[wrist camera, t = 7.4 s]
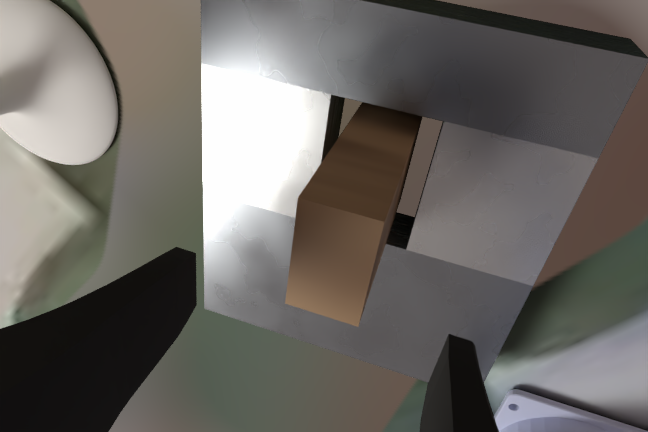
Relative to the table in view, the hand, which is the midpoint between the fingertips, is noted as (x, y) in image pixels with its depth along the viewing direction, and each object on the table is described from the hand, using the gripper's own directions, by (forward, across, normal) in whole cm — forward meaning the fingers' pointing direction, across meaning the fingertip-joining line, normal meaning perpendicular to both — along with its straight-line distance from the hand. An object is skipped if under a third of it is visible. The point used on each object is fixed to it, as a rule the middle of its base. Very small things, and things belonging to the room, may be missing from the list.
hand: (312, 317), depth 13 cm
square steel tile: (+9, 0, +1) cm, 9 cm away
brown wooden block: (+9, 0, -1) cm, 9 cm away
